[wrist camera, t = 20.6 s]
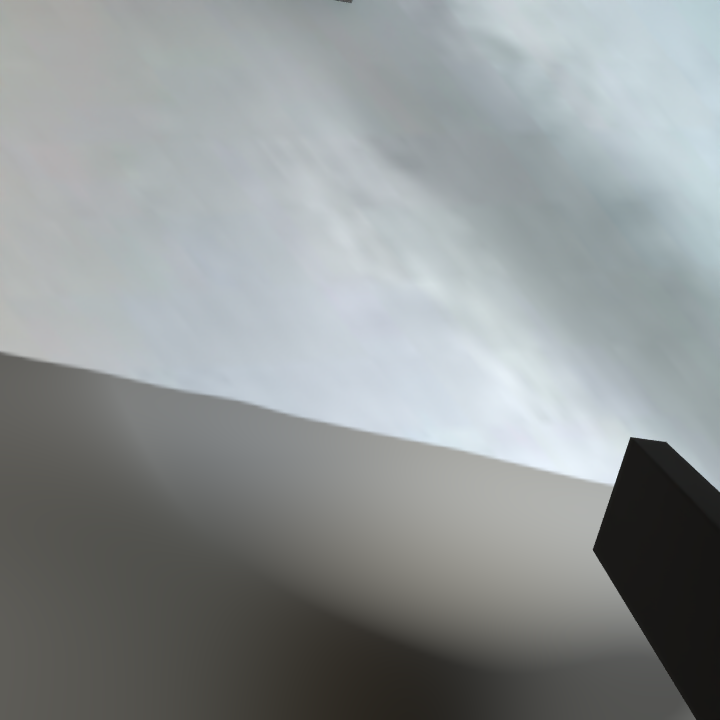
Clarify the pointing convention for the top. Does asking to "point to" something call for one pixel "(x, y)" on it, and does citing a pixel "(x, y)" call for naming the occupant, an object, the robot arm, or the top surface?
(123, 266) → the top surface
